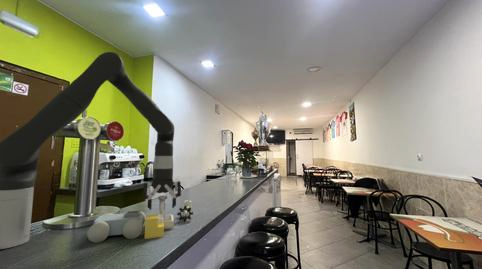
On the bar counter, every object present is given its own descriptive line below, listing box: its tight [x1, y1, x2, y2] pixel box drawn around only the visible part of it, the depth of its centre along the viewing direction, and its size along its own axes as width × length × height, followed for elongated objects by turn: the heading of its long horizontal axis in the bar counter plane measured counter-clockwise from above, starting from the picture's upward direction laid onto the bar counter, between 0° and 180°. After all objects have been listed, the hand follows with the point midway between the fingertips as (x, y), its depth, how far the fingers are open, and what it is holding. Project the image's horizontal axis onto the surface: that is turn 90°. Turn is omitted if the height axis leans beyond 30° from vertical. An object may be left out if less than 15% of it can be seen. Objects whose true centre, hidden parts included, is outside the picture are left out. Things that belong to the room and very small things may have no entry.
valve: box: [176, 199, 194, 223], centre depth 98 cm, size 7×7×12 cm
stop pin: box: [157, 194, 168, 221], centre depth 86 cm, size 3×3×11 cm
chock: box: [144, 213, 165, 240], centre depth 76 cm, size 6×5×6 cm
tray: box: [158, 214, 175, 231], centre depth 85 cm, size 9×9×3 cm
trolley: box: [86, 209, 146, 244], centre depth 77 cm, size 16×13×7 cm
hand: (161, 208), depth 86 cm, fingers open, 8 cm apart
